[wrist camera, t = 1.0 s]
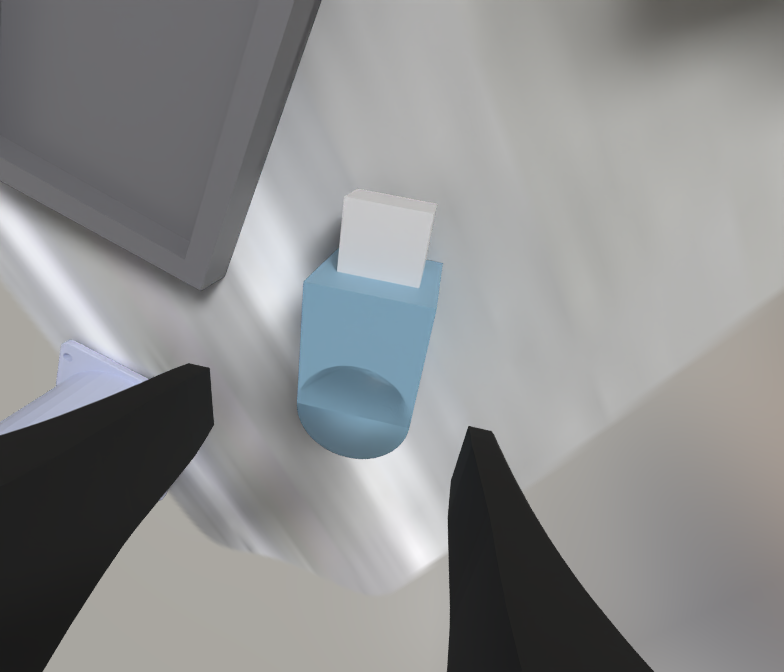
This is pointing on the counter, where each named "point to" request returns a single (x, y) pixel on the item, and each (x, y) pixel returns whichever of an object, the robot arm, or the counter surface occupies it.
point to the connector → (368, 326)
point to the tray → (148, 116)
